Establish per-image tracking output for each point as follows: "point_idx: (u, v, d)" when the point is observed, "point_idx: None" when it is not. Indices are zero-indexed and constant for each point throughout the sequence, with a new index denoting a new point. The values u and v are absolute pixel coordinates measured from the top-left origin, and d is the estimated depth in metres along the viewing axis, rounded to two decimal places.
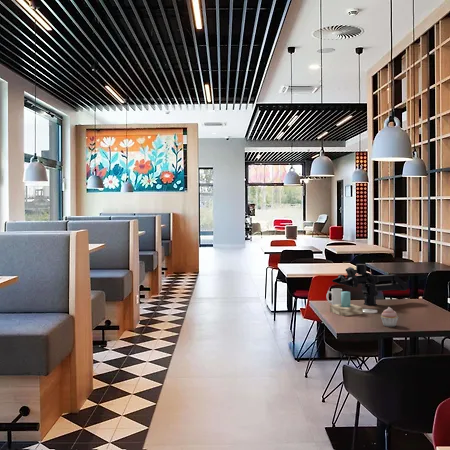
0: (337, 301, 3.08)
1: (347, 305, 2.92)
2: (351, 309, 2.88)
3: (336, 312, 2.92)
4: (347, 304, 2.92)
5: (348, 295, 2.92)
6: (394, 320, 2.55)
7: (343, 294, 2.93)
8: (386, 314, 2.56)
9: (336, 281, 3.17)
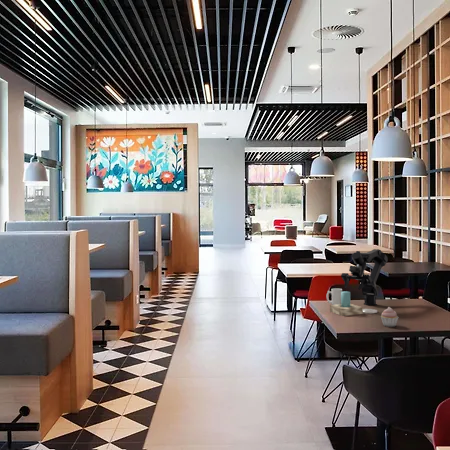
0: (337, 301, 3.08)
1: (347, 305, 2.92)
2: (351, 309, 2.88)
3: (336, 312, 2.92)
4: (347, 304, 2.92)
5: (348, 295, 2.92)
6: (394, 320, 2.55)
7: (343, 294, 2.93)
8: (386, 314, 2.56)
9: (346, 284, 3.06)
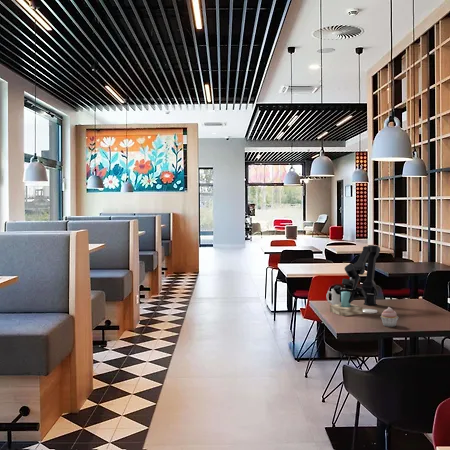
0: (337, 301, 3.08)
1: (347, 305, 2.92)
2: (351, 309, 2.88)
3: (336, 312, 2.92)
4: (347, 304, 2.92)
5: (347, 295, 2.92)
6: (394, 320, 2.55)
7: (343, 294, 2.93)
8: (386, 314, 2.56)
9: None
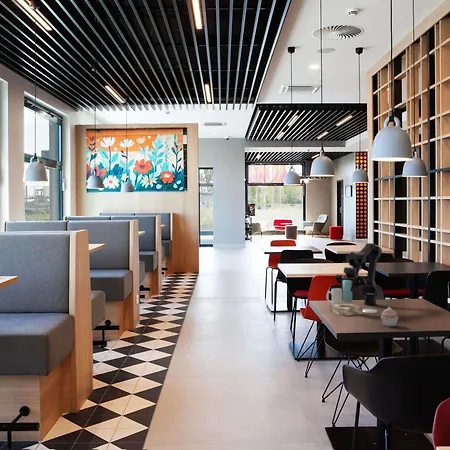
0: (337, 301, 3.08)
1: (349, 294, 2.92)
2: (351, 309, 2.88)
3: (336, 312, 2.92)
4: (349, 293, 2.92)
5: (349, 284, 2.92)
6: (394, 320, 2.55)
7: (345, 283, 2.93)
8: (386, 314, 2.56)
9: None
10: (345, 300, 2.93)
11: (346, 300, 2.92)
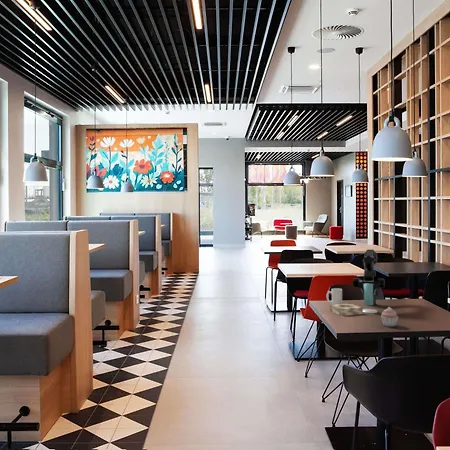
0: (337, 301, 3.08)
1: (371, 297, 2.94)
2: (351, 309, 2.88)
3: (336, 312, 2.92)
4: (371, 296, 2.94)
5: (372, 287, 2.94)
6: (394, 320, 2.55)
7: (367, 286, 2.94)
8: (386, 314, 2.56)
9: (363, 290, 2.98)
10: (368, 303, 2.94)
11: (369, 303, 2.94)
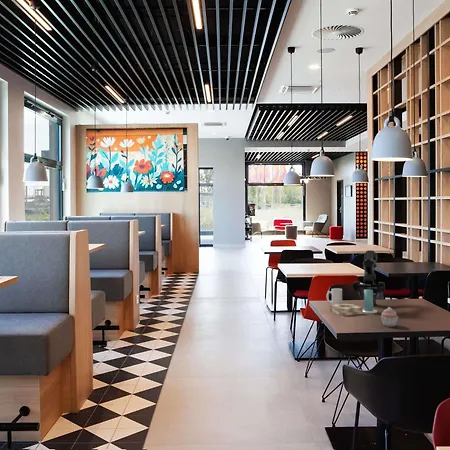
0: (337, 301, 3.08)
1: (371, 302, 2.94)
2: (351, 309, 2.88)
3: (336, 312, 2.92)
4: (371, 301, 2.94)
5: (372, 293, 2.94)
6: (394, 320, 2.55)
7: (367, 292, 2.94)
8: (386, 314, 2.56)
9: (360, 293, 2.99)
10: (368, 309, 2.94)
11: (369, 309, 2.94)
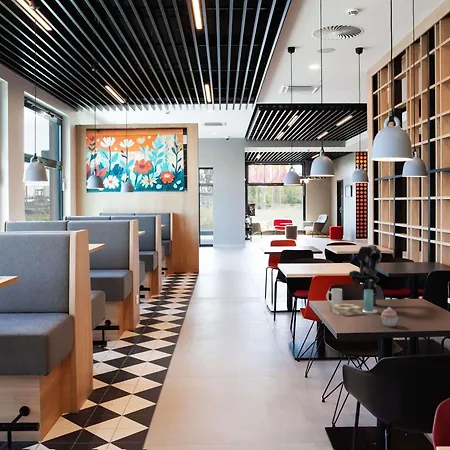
0: (337, 301, 3.08)
1: (371, 303, 2.94)
2: (351, 309, 2.88)
3: (336, 312, 2.92)
4: (371, 302, 2.94)
5: (372, 293, 2.94)
6: (394, 320, 2.55)
7: (368, 292, 2.94)
8: (386, 314, 2.56)
9: None
10: (368, 309, 2.94)
11: (369, 309, 2.94)
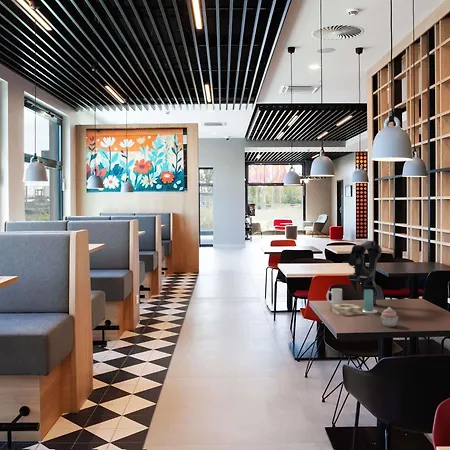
0: (337, 301, 3.08)
1: (371, 303, 2.94)
2: (351, 309, 2.88)
3: (336, 312, 2.92)
4: (371, 302, 2.94)
5: (372, 293, 2.94)
6: (394, 320, 2.55)
7: (368, 292, 2.94)
8: (386, 314, 2.56)
9: None
10: (368, 309, 2.94)
11: (369, 309, 2.94)
